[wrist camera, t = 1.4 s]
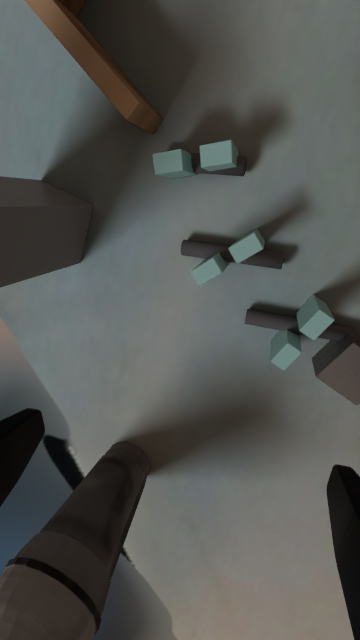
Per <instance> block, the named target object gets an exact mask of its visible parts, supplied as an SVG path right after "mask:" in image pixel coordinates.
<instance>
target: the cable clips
mask: <svg viewBox="0 0 360 640" xmlns="http://www.w3.org/2000/svg"><path fill="white" fill-rule="evenodd" d="M152 155H153V163H154V171H155V175H159V176H163V177H167V178H172V179H173V178H179V177H186V176H192V175H196V173H194V172H193V169H192V162H191V156H192V155H191V154H189V153H187V152H186V151H184V150H182V149H177V150H172V151H166V152H161V153H155V154H152ZM237 156H238V149H237V147H236V146H235V145H234V143H233V142H232V140H228V141H222V142H217V143H211V144H206V145H200V160H201V168H203V169H205V170H208V171H215V170H220V169H226V168H233V167H237ZM264 244H265V241H264V239H263V238H262V236H261V234H260V232H259V230H258V229H255V230H254V231H252V232H250V233H249V234H247V235H245V236H244V237H242V238H241V239H239V240H237V241H236V242H234V243H233V244H232V245H231V246H230V247H229V248H228V249H229V251H230V253H231V255H232V256H233V258H234V260H235V261H236V263H237V264H238V263H240V262H241V261H243V260H245V259H247V258H248V257H250V256H252V255H254V254H255V253H257V252H259V251H260V250H262V249H263V248H264ZM228 264H229V262H227V261H225V260H224V259H223V258H222V256H221V255H220V253H217V254H216V255H214V256H212V257H211V258H209V259H206V260H205V261H203V262H202V263H200V264H199V265H198V266H197V267H195V268H194V269H193V270H192V271H190V272H191V274H192V275H193V277H194V279H195V280H196V282H197V284H198V285H199V286H200V285H202V284H203V283H205V282H207V281H209V280H210V279H212V278H214V277H215V276H217V275H219V274H221V273H222V272H223V271H224V269H225V268H226V267H227V266H228ZM296 315H297V321H298V326H299V331H300V332H302V333H303V334H305V335H306V336H308V337H309V338H311V339H312V340H313V341H314V340H315V339H316V338H317V337H318V336H319V335H320V334H321V333H322V332H323V331H324V330H325V329H326V328H327V327H328V326H329V325H330V324H331V323H332V322H333V321H334V318H333V316H332V314H331V312H330V310H329V308H328V306H327V304H326V303H325V302H324V301H322V300H321V299H319V298H318V297H316V296H315V295H312V296H311V297H310V299H309V300H308V301H307V302H306V303H305V304H304V305H303V306H302V307H301V308H300V310H299V311H298V312H297V313H296ZM301 353H302V351H301V345H300V339H299V334H297V333H292V332H290V331H288V330H285V331H281V330H280V331H279V333H278V334H277V335H276V336H275V337H274V338H273V339H272V340H271V354H270V361H271V362H272V363H273V364H275V365H276V366H278V367H279V368H281V369H282V370H283V371H284V370H285V369H286V368H287V367H288V366H289V365H290V364H291V363H292V362H293V361H294V360H295V359H296V358H297V357H298V356H299V355H300V354H301Z"/></svg>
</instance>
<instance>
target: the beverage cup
mask: <svg viewBox="0 0 360 640" xmlns="http://www.w3.org/2000/svg"><path fill="white" fill-rule="evenodd" d="M149 470H150V463H149V460H148V458H147V456H146V455H145V454H144V452H143V451H142V450H140V449H139V448H138V447H136V446H134V445H132V444H130V443H125V442H120V443H116V444H114V445H112V447H111V448H110V449H109V450H108V451H107V453H106V454H105V455H104V456H102V457H101V459H100V460H99V461H98V462H97V463H96V465H95V466H94V467H93V468H92V470H91V471H90V472H89V473H88V474H87V476H86V477H85V478H84V479H83V480H82V482H81V483H80V484H79V485H78V487H77V488H76V489H75V490H74V491H73V493H72V494H71V495H70V496H69V497H68V499H67V500H66V501H65V502H64V503H63V505H62V506H61V507H60V508H59V510H58V511H57V512H56V513H55V514H54V516H53V517H52V518H51V519H50V520H49V522H48V523H47V524H46V525H45V527H44V528H43V529H42V530H41V531H40V533H38V534H36V535H35V536H34V537H33V538H32V539H31V540H30V541H29V542H28V543H27V544H26V545H25V546H24V547H23V548H22V549H21V551H20V552H19V553H18V554H17V556H16V557H15V558H14V559H11V560H9V562H8V563H7V565H6V567H5V568H4V571H3V572H2V576H1V577H0V640H91V639H92V637H93V636H94V635H95V634H96V632H97V631H98V629H99V627H100V623H101V618H100V617H101V615H102V612H103V610H104V606H105V602H106V598H107V595H108V591H109V586H110V583H111V581H110V580H111V577H112V575H113V572H114V569H115V566H116V563H117V561H118V558H119V555H120V553H121V550H122V547H123V544H124V542H125V539H126V536H127V533H128V531H129V528H130V525H131V522H132V519H133V517H134V514H135V511H136V508H137V506H138V503H139V500H140V497H141V495H142V492H143V489H144V486H145V482H146V478H147V475H148V473H149Z"/></svg>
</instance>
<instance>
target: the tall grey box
mask: <svg viewBox="0 0 360 640" xmlns="http://www.w3.org/2000/svg"><path fill="white" fill-rule="evenodd" d="M93 206H94V205H92V204H90V203H88V202H86V201H84V200H81V199H79V198H77V197H75V196H73V195H71V194H69V193H67V192H64V191H62V190H60V189H58V188H56V187H54V186H52V185H50V184H48V183H45V182H43V181H41V180H32V179H22V178H11V177H0V287H3V286H7V285H10V284H13V283H16V282H20V281H23V280H26V279H29V278H33V277H36V276H39V275H42V274H46V273H49V272H52V271H55V270H58V269H62V268H65V267H68V266H71V265H75V264H78V263H80V262H81V258H82V254H83V249H84V245H85V241H86V236H87V232H88V228H89V223H90V219H91V215H92V210H93Z"/></svg>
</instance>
